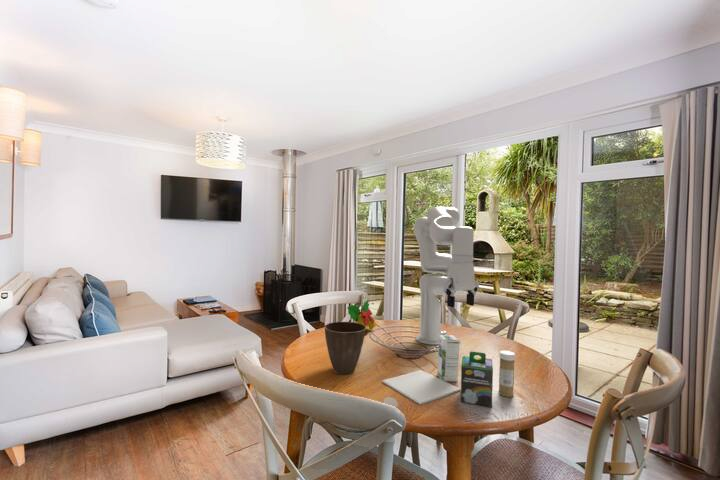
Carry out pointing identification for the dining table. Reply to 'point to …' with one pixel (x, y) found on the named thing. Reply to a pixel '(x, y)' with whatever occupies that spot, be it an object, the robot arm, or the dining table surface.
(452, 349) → the syrup box
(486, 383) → the chalk box
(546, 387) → the dining table surface
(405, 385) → the mat
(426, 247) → the robot arm
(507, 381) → the sprinkles bottle
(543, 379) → the dining table surface
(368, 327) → the ornament
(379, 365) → the dining table surface
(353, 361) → the plant pot
